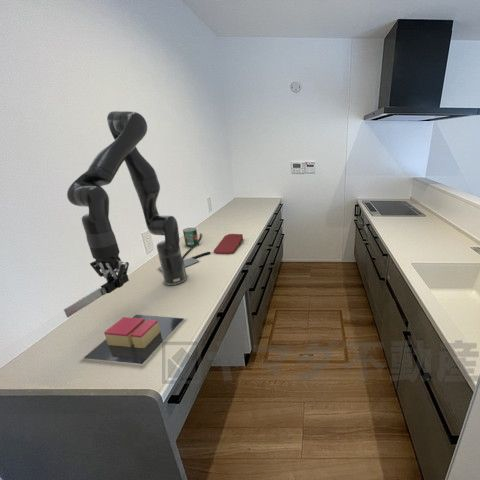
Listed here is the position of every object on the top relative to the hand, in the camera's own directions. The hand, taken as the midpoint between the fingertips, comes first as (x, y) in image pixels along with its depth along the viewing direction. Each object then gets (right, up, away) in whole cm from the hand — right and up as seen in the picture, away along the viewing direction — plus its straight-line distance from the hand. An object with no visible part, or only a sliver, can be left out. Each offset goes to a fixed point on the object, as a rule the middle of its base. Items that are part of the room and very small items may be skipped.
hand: (116, 286), depth 97 cm
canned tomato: (-9, +13, +75) cm, 77 cm away
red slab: (+17, +13, +75) cm, 77 cm away
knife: (-1, -3, -6) cm, 7 cm away
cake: (+9, -17, -6) cm, 20 cm away
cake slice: (+16, -17, -6) cm, 24 cm away
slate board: (+12, -18, -5) cm, 22 cm away
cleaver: (+1, +4, +52) cm, 52 cm away
